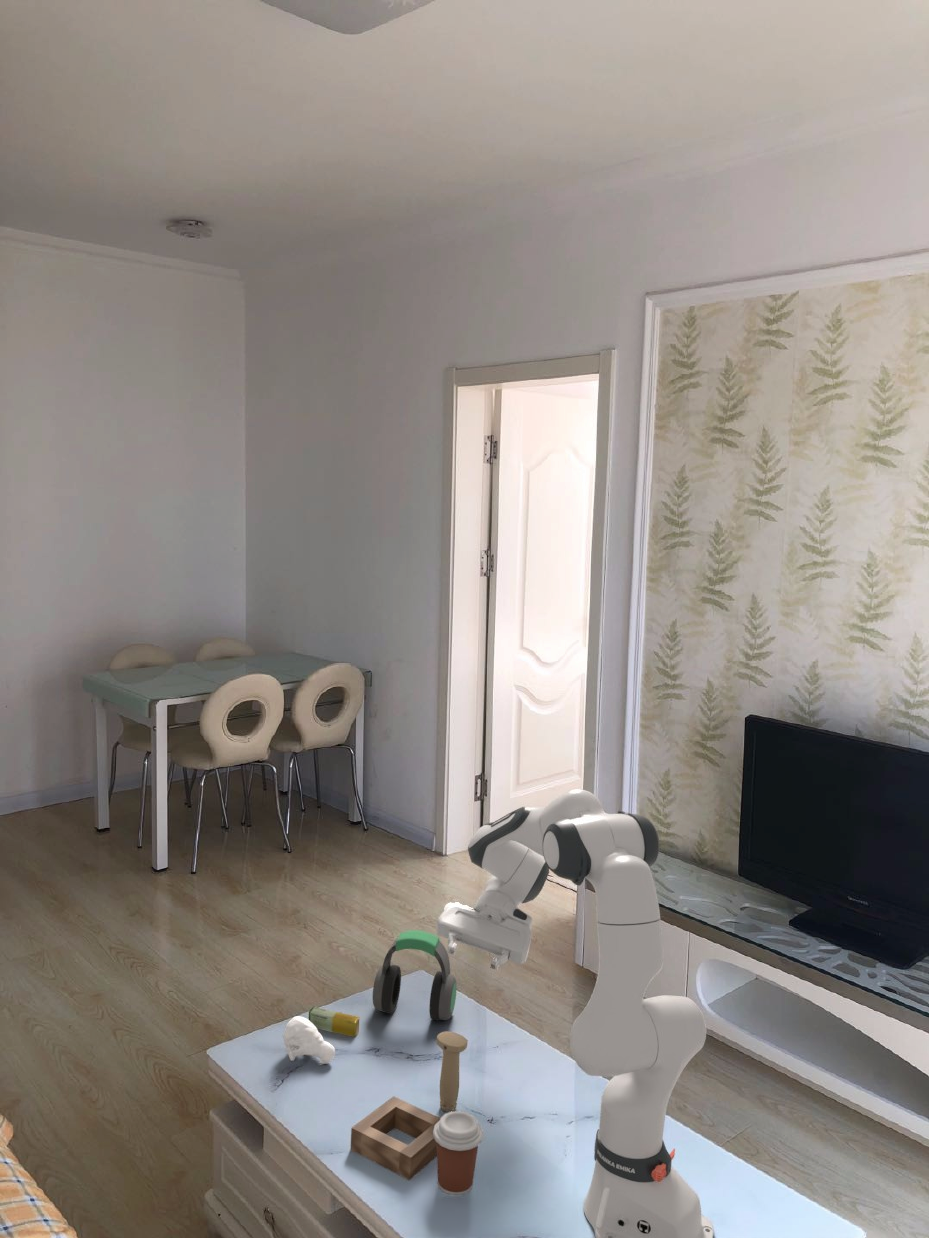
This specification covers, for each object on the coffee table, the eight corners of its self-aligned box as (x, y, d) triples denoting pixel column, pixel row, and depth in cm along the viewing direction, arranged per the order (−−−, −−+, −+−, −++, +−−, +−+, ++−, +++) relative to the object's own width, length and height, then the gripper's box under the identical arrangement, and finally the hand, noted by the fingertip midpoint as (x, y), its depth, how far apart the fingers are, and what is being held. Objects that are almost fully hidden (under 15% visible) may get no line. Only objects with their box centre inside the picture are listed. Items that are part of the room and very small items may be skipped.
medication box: (307, 1027, 235) (307, 1011, 235) (312, 1021, 238) (312, 1005, 237) (355, 1038, 232) (355, 1021, 231) (359, 1032, 235) (360, 1016, 234)
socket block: (449, 1144, 195) (451, 1122, 195) (409, 1180, 185) (410, 1157, 184) (392, 1116, 203) (393, 1095, 202) (350, 1149, 192) (351, 1127, 192)
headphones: (456, 1008, 248) (461, 930, 245) (448, 1030, 237) (452, 949, 235) (381, 997, 251) (385, 920, 249) (369, 1019, 240) (373, 938, 238)
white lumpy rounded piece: (297, 1007, 226) (344, 1026, 222) (293, 1042, 228) (339, 1061, 223) (282, 1020, 221) (329, 1039, 216) (277, 1056, 222) (324, 1076, 217)
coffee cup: (419, 1183, 184) (423, 1121, 183) (453, 1160, 191) (456, 1100, 189) (457, 1208, 178) (461, 1144, 177) (490, 1183, 185) (494, 1122, 184)
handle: (454, 1119, 203) (458, 1049, 202) (428, 1107, 207) (432, 1038, 205) (467, 1108, 207) (471, 1039, 206) (442, 1096, 211) (446, 1028, 209)
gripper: (449, 889, 221) (426, 930, 209) (539, 919, 216) (520, 964, 204) (446, 911, 224) (423, 953, 212) (534, 941, 219) (516, 986, 207)
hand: (472, 959), depth 208 cm, fingers open, 8 cm apart
